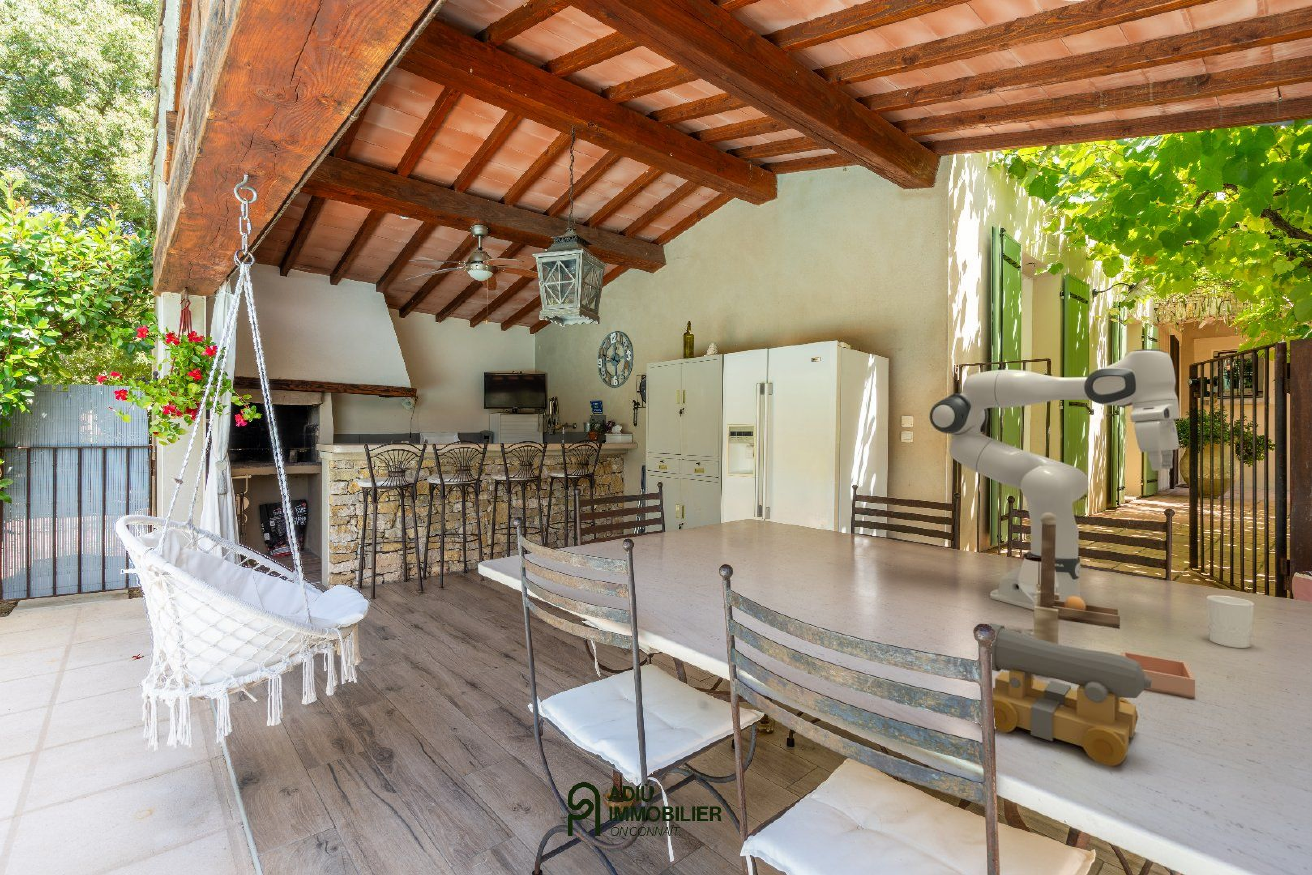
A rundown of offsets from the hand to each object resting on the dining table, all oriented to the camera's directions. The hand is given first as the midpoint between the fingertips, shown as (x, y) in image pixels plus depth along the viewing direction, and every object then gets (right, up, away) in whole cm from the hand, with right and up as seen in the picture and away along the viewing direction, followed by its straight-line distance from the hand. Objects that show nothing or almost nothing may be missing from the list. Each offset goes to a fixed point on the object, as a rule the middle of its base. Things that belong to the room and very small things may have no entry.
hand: (1162, 469), depth 150 cm
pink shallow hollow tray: (-27, -40, -32) cm, 58 cm away
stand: (-42, -39, -22) cm, 62 cm away
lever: (-38, -29, -25) cm, 54 cm away
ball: (-38, -27, -25) cm, 53 cm away
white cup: (+8, -40, -9) cm, 41 cm away
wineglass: (-34, -39, -5) cm, 52 cm away
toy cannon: (-58, -40, -50) cm, 87 cm away
